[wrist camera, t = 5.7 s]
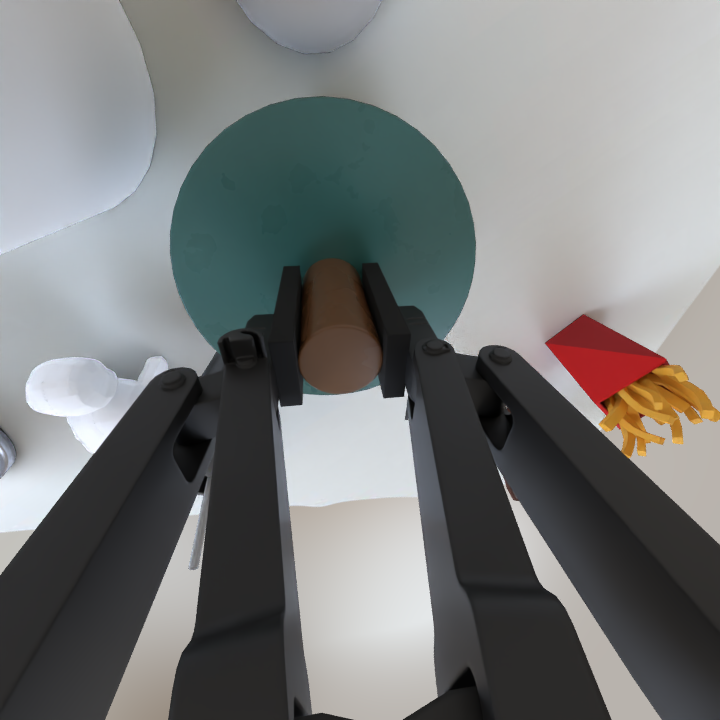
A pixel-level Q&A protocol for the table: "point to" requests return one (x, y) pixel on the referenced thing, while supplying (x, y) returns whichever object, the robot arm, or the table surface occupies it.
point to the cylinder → (69, 114)
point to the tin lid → (322, 231)
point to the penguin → (87, 394)
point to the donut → (310, 21)
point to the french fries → (629, 382)
